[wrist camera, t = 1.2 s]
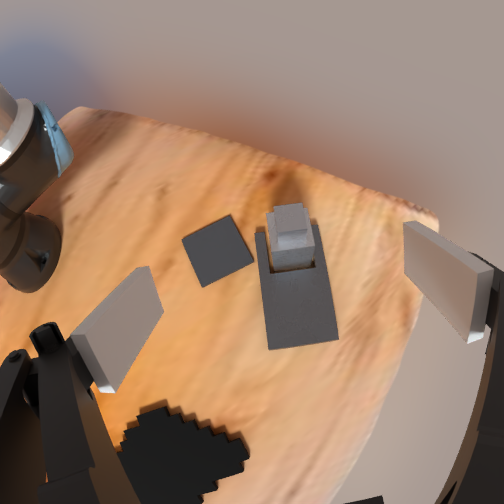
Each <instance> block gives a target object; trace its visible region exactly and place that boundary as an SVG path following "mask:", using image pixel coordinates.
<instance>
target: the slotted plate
mask: <svg viewBox="0 0 504 504" xmlns="http://www.w3.org/2000/svg"><path fill="white" fill-rule="evenodd" d="M311 228H312V233H313V238H314V243H315V248H314V253H313V261H314V267H315V268H310V269H303V270H296V271H289V272H282V273H275V274H270V269H269V261H268V254H267V247H266V240H265V233H264V232H260V233H254V234H255V242H256V250H257V258H258V267H259V275H260V283H261V291H262V299H263V308H264V316H265V324H266V332H267V341H268V349H269V350H277V349H284V348H292V347H298V346H305V345H311V344H318V343H324V342H330V341H335V340H339V336H338V330H337V324H336V317H335V311H334V306H333V300H332V294H331V288H330V283H329V278H328V272H327V267H326V262H325V257H324V252H323V247H322V242H321V237H320V233H319V228H318V225H311Z"/></svg>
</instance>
